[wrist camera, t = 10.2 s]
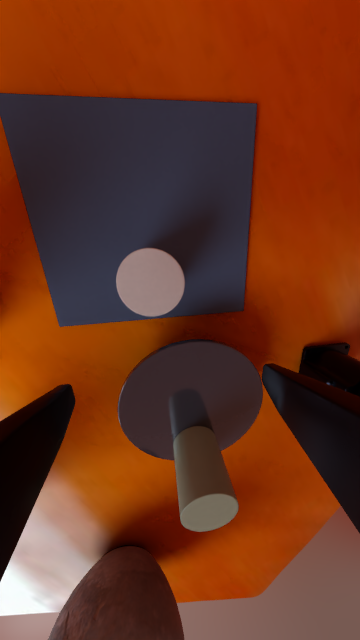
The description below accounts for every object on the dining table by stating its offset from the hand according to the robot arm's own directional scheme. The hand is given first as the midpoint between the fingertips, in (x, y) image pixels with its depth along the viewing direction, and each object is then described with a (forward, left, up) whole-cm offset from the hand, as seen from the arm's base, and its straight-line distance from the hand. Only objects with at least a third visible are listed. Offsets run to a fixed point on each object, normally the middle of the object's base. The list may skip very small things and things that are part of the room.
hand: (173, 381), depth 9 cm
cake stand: (-2, +9, -12) cm, 16 cm away
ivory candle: (+1, -4, -12) cm, 13 cm away
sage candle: (-2, +14, -7) cm, 16 cm away
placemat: (+1, -8, -12) cm, 15 cm away
